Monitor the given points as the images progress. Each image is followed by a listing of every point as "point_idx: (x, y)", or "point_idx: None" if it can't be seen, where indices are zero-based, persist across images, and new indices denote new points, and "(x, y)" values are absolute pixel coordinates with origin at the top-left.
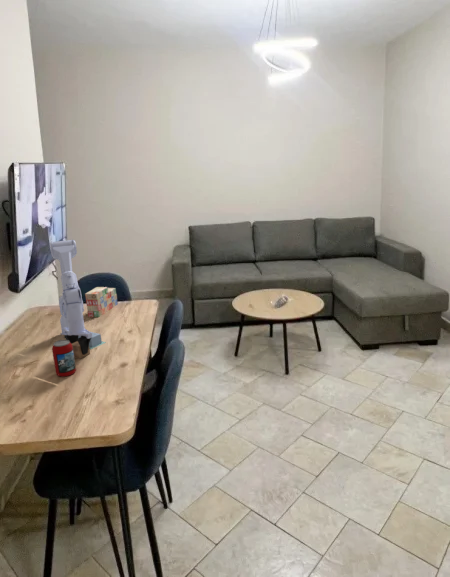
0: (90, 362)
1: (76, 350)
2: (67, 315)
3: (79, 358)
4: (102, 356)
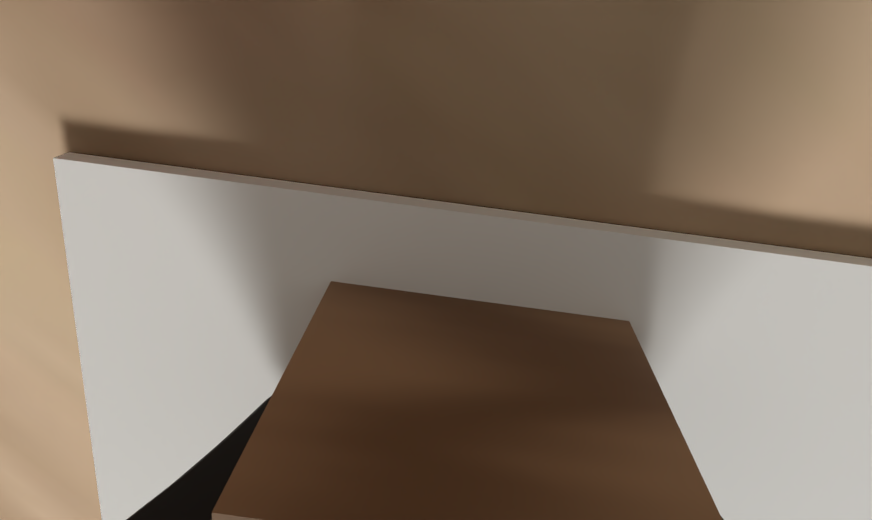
0: (23, 243)
1: (377, 412)
2: None
3: (338, 285)
4: (71, 501)
